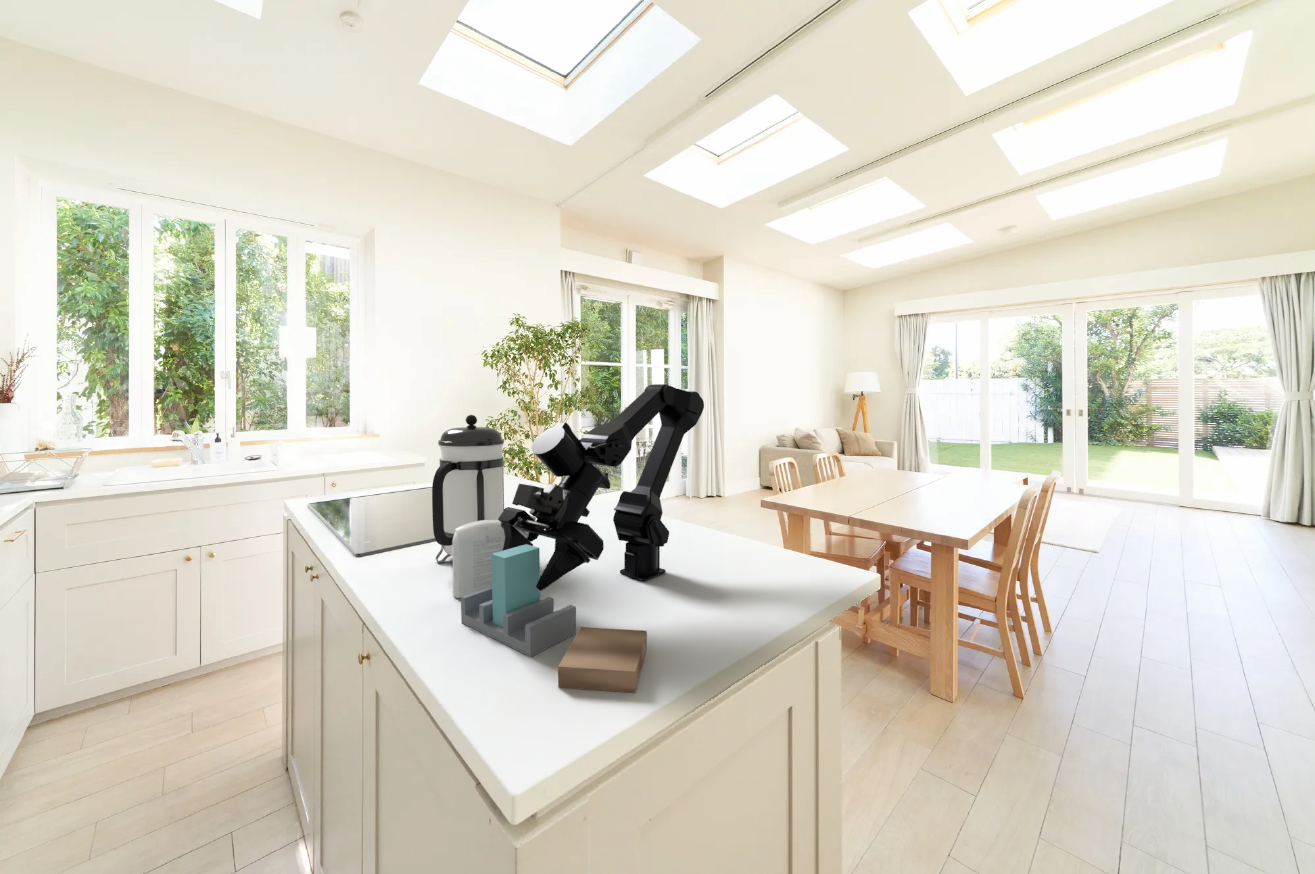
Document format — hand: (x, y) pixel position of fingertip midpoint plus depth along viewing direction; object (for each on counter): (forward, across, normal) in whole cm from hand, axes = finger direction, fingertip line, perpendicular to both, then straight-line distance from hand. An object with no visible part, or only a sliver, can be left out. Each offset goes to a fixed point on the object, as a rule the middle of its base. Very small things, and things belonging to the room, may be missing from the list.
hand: (517, 581), depth 71 cm
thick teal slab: (+4, 0, +4) cm, 5 cm away
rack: (+5, 0, +5) cm, 7 cm away
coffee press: (-5, -34, +15) cm, 37 cm away
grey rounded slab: (+2, -16, +9) cm, 18 cm away
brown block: (+5, +17, +5) cm, 19 cm away
